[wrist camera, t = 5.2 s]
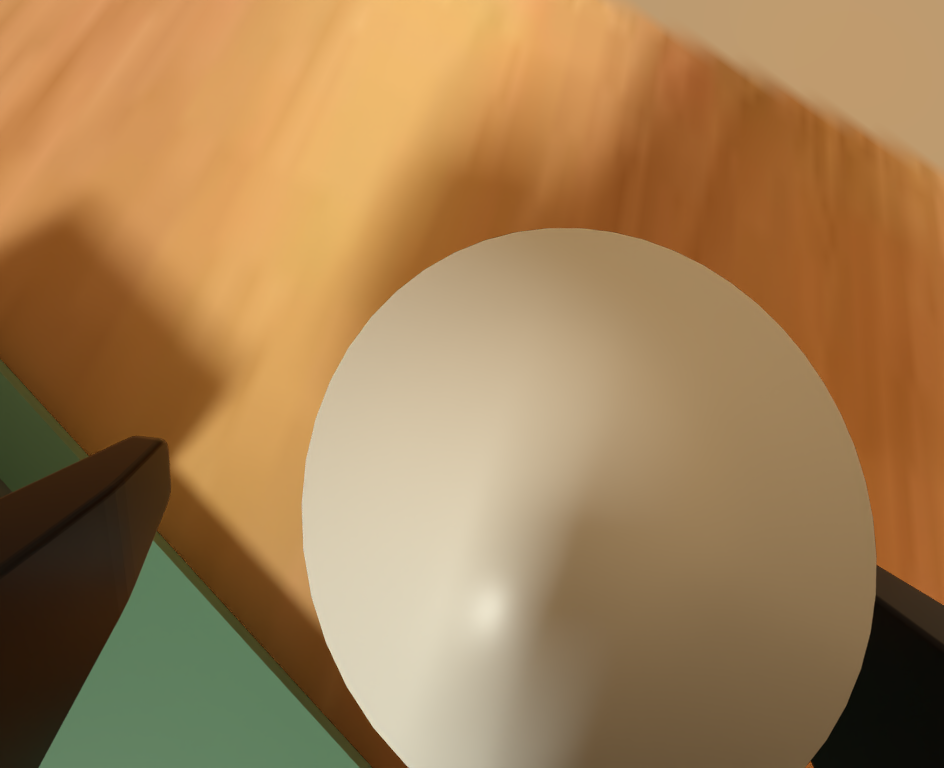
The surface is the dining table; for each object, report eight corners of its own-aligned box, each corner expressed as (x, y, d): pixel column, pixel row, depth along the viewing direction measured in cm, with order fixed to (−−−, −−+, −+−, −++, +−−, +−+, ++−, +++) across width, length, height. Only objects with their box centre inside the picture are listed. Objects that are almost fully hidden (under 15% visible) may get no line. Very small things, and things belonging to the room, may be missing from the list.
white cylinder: (485, 625, 15) (931, 862, 3) (331, 616, 14) (226, 871, 3) (494, 474, 16) (841, 268, 5) (352, 459, 16) (346, 176, 4)
